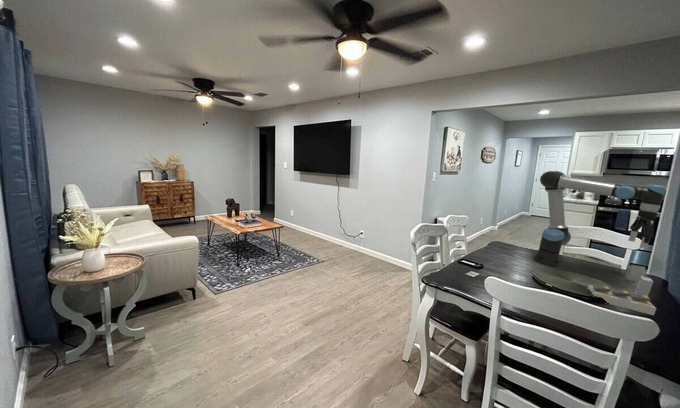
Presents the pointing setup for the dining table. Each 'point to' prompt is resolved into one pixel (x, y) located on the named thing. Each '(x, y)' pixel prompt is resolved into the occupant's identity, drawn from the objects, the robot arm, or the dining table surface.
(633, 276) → the grey box
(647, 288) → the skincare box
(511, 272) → the dining table surface
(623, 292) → the rocker
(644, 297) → the rocker
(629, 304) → the switch unit
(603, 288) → the rocker
